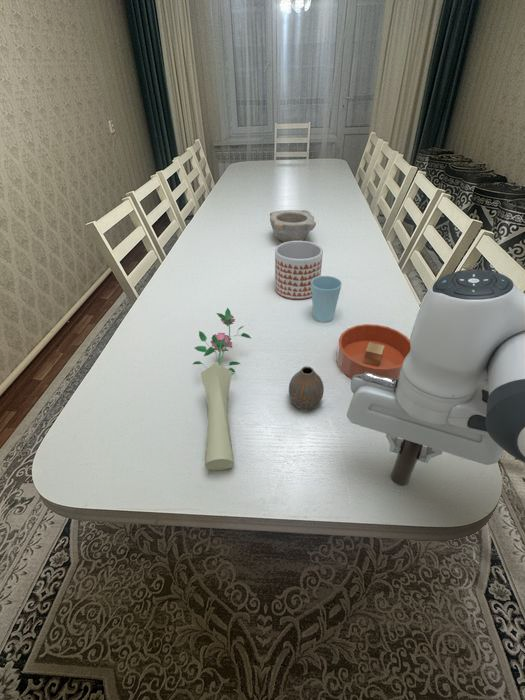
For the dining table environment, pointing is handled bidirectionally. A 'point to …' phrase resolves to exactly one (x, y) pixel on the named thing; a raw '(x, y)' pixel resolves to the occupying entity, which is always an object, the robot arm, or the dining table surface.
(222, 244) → the dining table surface
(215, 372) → the flower vase
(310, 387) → the vase
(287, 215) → the mortar
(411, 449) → the dark brown cylinder
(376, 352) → the block
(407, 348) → the bowl
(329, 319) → the cup
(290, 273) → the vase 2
